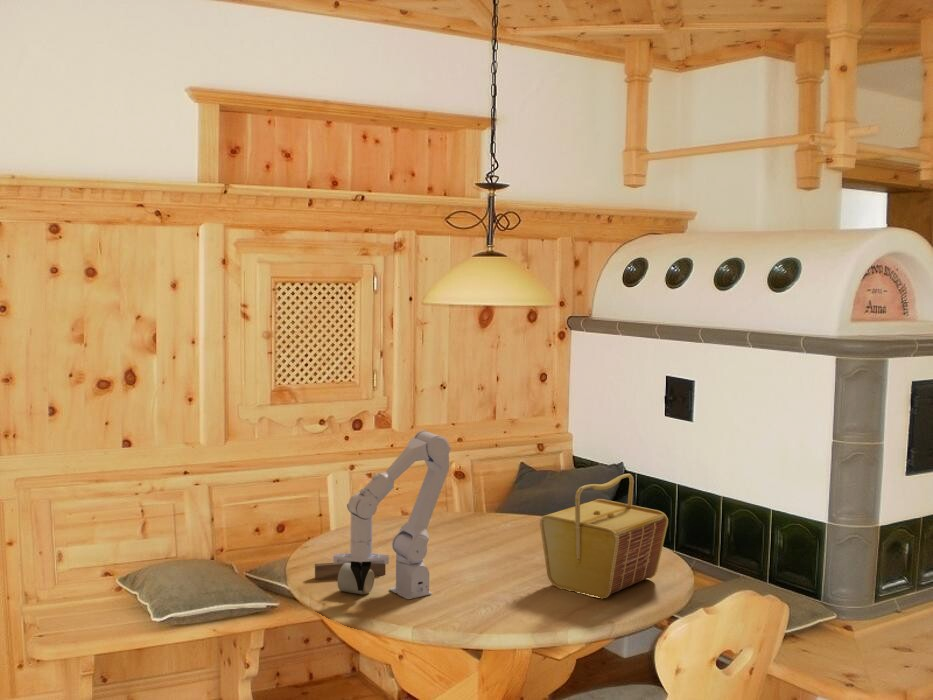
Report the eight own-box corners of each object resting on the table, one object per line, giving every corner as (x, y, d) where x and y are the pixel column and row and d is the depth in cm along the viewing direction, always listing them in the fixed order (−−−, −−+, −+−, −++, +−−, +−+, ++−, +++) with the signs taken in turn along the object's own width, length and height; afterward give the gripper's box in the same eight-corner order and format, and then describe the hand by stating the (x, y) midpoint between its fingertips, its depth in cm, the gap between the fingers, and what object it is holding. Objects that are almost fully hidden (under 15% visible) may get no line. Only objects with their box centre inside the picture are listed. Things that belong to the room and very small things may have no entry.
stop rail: (385, 574, 288) (385, 561, 288) (315, 579, 283) (315, 565, 282) (383, 572, 290) (384, 559, 290) (314, 577, 285) (314, 563, 284)
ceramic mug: (363, 598, 268) (364, 570, 267) (336, 594, 271) (336, 566, 270) (380, 587, 278) (381, 560, 277) (354, 583, 281) (355, 556, 280)
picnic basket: (592, 562, 304) (596, 465, 302) (668, 581, 288) (672, 478, 285) (535, 585, 282) (538, 480, 280) (613, 607, 266) (617, 496, 263)
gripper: (389, 535, 269) (389, 584, 271) (335, 534, 269) (335, 584, 270) (388, 543, 262) (387, 593, 264) (332, 542, 262) (332, 592, 263)
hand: (360, 589), depth 267 cm, fingers closed
